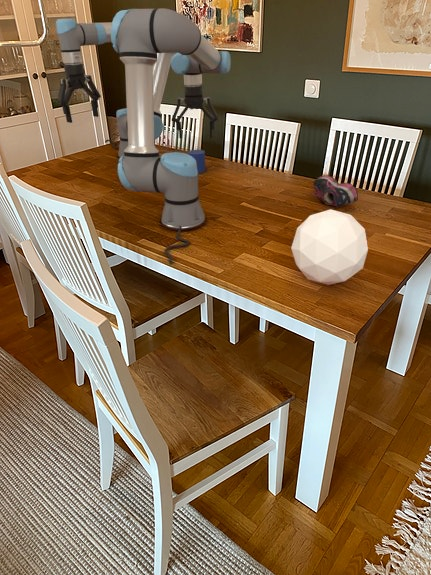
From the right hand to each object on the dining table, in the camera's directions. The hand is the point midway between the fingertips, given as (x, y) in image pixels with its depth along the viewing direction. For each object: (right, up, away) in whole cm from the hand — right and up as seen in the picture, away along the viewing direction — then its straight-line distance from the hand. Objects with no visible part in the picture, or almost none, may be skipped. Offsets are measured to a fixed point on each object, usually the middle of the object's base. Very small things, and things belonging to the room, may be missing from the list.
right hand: (195, 137), depth 196 cm
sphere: (+39, -64, -74) cm, 106 cm away
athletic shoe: (+52, -35, -29) cm, 69 cm away
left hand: (-48, +5, -8) cm, 49 cm away
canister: (0, -13, +8) cm, 15 cm away
